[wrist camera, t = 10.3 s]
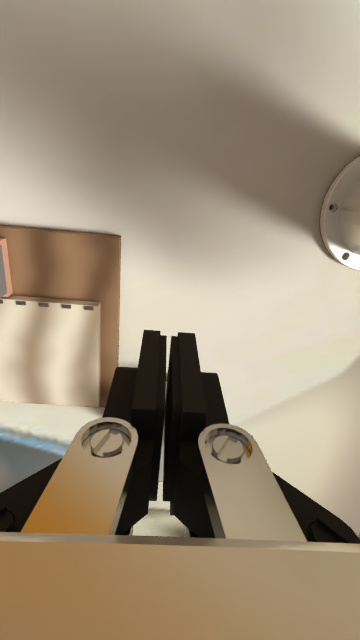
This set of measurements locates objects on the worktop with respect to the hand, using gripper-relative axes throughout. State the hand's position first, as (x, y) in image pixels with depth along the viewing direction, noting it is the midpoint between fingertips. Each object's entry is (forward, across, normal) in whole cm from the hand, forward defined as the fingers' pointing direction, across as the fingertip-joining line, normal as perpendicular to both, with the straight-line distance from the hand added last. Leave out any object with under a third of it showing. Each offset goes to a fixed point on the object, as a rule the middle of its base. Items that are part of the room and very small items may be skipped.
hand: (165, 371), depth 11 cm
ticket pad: (+27, +14, +12) cm, 33 cm away
